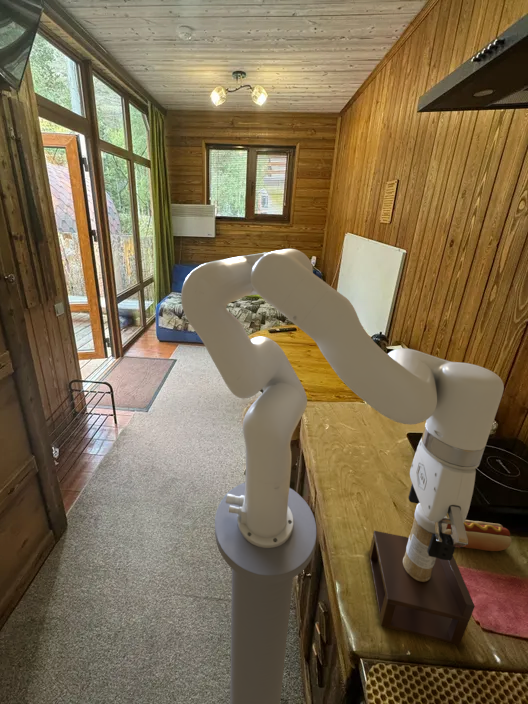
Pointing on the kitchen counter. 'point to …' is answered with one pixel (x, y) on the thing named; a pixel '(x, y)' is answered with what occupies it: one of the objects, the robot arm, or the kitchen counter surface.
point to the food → (485, 535)
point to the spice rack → (418, 593)
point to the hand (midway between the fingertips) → (427, 526)
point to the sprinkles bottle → (420, 547)
